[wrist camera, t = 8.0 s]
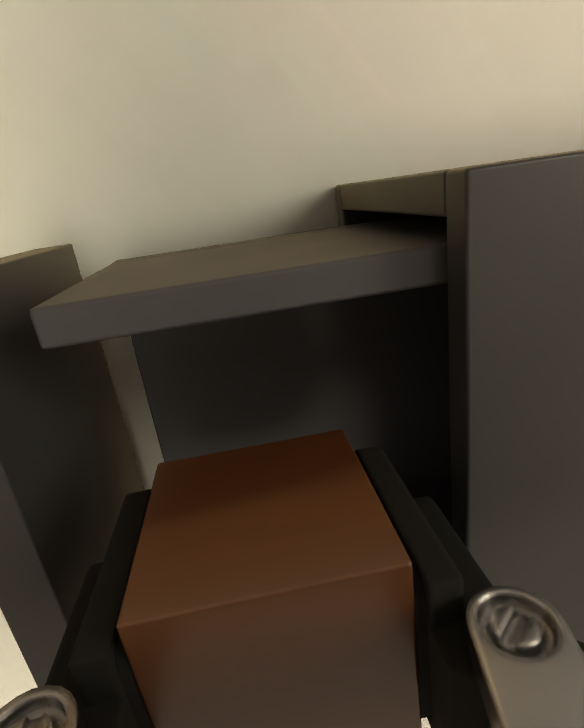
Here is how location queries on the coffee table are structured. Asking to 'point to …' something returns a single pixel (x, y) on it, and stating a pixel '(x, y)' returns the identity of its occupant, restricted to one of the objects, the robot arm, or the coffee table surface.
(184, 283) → the pulled-out drawer
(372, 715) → the block
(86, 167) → the coffee table surface
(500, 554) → the small drawer cabinet
